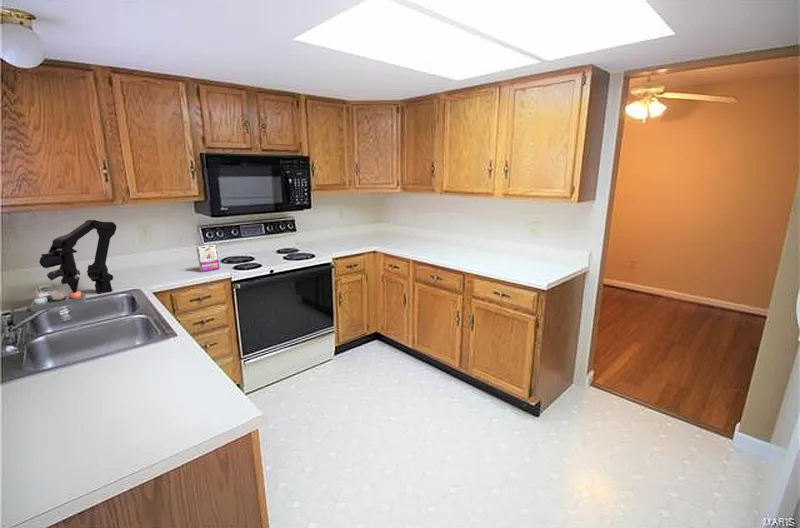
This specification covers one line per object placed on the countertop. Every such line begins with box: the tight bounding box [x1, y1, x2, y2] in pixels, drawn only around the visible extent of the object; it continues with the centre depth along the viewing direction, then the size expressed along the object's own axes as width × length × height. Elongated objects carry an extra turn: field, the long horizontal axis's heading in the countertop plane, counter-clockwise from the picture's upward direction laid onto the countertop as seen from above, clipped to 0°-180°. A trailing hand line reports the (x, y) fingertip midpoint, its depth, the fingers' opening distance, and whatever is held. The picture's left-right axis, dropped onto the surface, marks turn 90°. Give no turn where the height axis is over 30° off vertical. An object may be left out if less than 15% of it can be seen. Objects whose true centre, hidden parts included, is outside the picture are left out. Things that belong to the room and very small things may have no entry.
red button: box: [68, 290, 82, 299], centre depth 192 cm, size 5×5×4 cm
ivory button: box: [51, 289, 66, 300], centre depth 188 cm, size 5×5×4 cm
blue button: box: [33, 297, 48, 304], centre depth 184 cm, size 5×5×4 cm
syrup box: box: [34, 283, 54, 299], centre depth 191 cm, size 6×6×14 cm
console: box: [29, 292, 87, 312], centre depth 188 cm, size 20×10×2 cm, turn 127°
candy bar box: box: [195, 244, 220, 273], centre depth 247 cm, size 11×5×16 cm, turn 131°
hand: (74, 292), depth 191 cm, fingers closed, pressing on red button
